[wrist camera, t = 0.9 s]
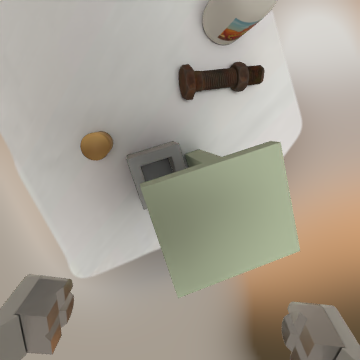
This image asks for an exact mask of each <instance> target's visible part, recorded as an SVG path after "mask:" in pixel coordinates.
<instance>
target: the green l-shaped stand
mask: <svg viewBox="0 0 360 360" xmlns="http://www.w3.org/2000/svg"><path fill="white" fill-rule="evenodd" d="M185 157H186V160H187V164H188V167H189V168H187V169H183V170H180V171H177V172H174V173H171V174H168V175H165V176H162V177H159V178H156V179H153V180H150V181H147V182H144V183H141V184H140V187H141V191H142V194H143V197H144V200H145V202H146V205H147V208H148V211H149V214H150V217H151V220H152V223H153V226H154V229H155V232H156V235H157V238H158V241H159V244H160V246H161V249H162V252H163V255H164V258H165V261H166V264H167V267H168V270H169V273H170V276H171V279H172V282H173V284H174V288H175V291H176V293H177V296H178V298H180V297H183V296H185V295H188V294H190V293H193V292H196V291H198V290H201V289H203V288H206V287H208V286H211V285H214V284H216V283H219V282H221V281H224V280H226V279H229V278H231V277H234V276H237V275H239V274H242V273H244V272H247V271H249V270H252V269H255V268H257V267H260V266H262V265H265V264H267V263H270V262H272V261H275V260H278V259H280V258H283V257H285V256H288V255H291V254H293V253H296V252H298V251H300V248H299V242H298V237H297V231H296V225H295V220H294V215H293V209H292V203H291V198H290V192H289V187H288V181H287V176H286V170H285V165H284V159H283V154H282V148H281V143H280V142H273V141H269V142H266V143H263V144H260V145H257V146H254V147H251V148H248V149H245V150H242V151H239V152H236V153H233V154H230V155H226V156H223V157H220V156H217V155H214V154H212V153H209V152H206V151H203V150H200V149H199V150H196V151H192V152H189V153H186V154H185Z"/></svg>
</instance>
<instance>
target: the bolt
mask: <svg viewBox="0 0 360 360" xmlns="http://www.w3.org/2000/svg"><path fill="white" fill-rule="evenodd" d="M263 78H264V68H263V67H261V65H257V66H249V67H248V66H246V64H244V63H242V62H235V63H234V64H233V65H232V66H231V68H227V69H217V70H209V71H208V70H207V71H194V70H193V69H192V67H191V66H190V65H189V64H186V65H182V66H181V68H180V70H179V86H180V91H181V95H182V97H183V98H184V99H186V100H193V97H194V94H195V92H199V91H202V90H211V89H220V88H227V87H231V88H232V89H233V90H234V91H236V92H239V91H243V90H244V89H245V88H246V87H247V85H254V84H260V83H261V82H262V81H263Z"/></svg>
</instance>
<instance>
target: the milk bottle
mask: <svg viewBox="0 0 360 360" xmlns="http://www.w3.org/2000/svg"><path fill="white" fill-rule="evenodd" d="M277 1H278V0H210V1H209V2H208V4H207V6H206V8H205V10H204V13H203V27H204V30H205V33H206V34H207V36H208V37H209V38H210V39H211V40H212V41H213V42H215V43H217V44H221V45H227V44H230V43H232V42H234V41H236V40H237V39H238V38H240V37H241V36H242V35H243V34H245V33H246V32H247V31H248V30H250V29H251V28H252V27H253V26H254V25H256V24H257V23H258V22H259V21H260V20H262V19H263V18H264V17H265V16H266V15H267V14H268V13H269V12H270V11H271V10H272V8H273V7H274V5H275V4H276V2H277Z"/></svg>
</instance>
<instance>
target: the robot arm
mask: <svg viewBox="0 0 360 360" xmlns="http://www.w3.org/2000/svg"><path fill="white" fill-rule="evenodd" d="M72 287H73V284H72V280H71V279H66V278H58V277H51V276H42V275H33V274H29V275H27V276H26V277H24V279H23V280H22V281H21V283H20V284H19V285H18V287H17V288H16V289H15V290H14V292H13V293H12V294H11V296H10V297H9V298H8V299H7V301H6V302H5V303H4V304H3V306H2V307H1V308H0V360H21V359H22V358H23V357H24V356H25V355H26V353H37V354H53V352H54V350H55V348H56V346H57V344H58V342H59V340H60V338H61V327H63V326H64V325H65V324H67V322H68V320H69V318H70V316H71V313H72V309H73V304H74V296H73V294H72V293H71V292H70V291H71V289H72ZM288 311H289V314H288V315H287V316H285V317H284V319H283V322H282V335H283V339H284V342H285V345H286V346H287V347H288V348H289V349H290V350H291V351H292V353H291V356H290V360H360V346H359V344H358V343H357V341H356V339H355V338H354V336H353V334H352V333H351V331H350V330H349V328H348V326H347V325H346V323H345V321H344V320H343V318H342V317H341V315H340V313H339V312H338V310H337V309H336V308H335V307H334V306H331V305H320V304H319V305H318V304H311V303H299V302H291V303H290V304H289V306H288Z"/></svg>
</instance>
